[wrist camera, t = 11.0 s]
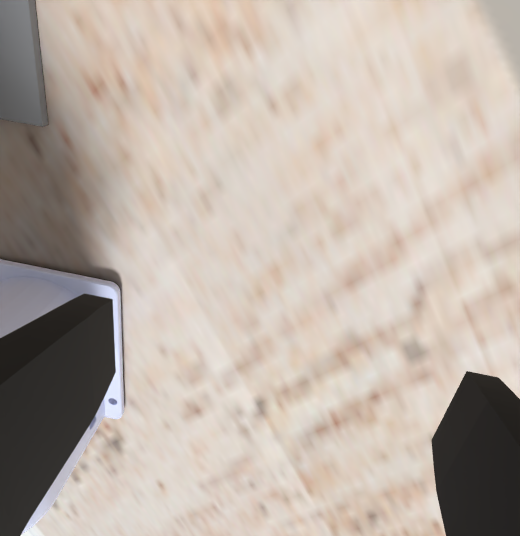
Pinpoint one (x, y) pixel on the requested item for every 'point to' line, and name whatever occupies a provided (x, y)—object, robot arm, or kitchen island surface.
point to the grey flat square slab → (21, 64)
